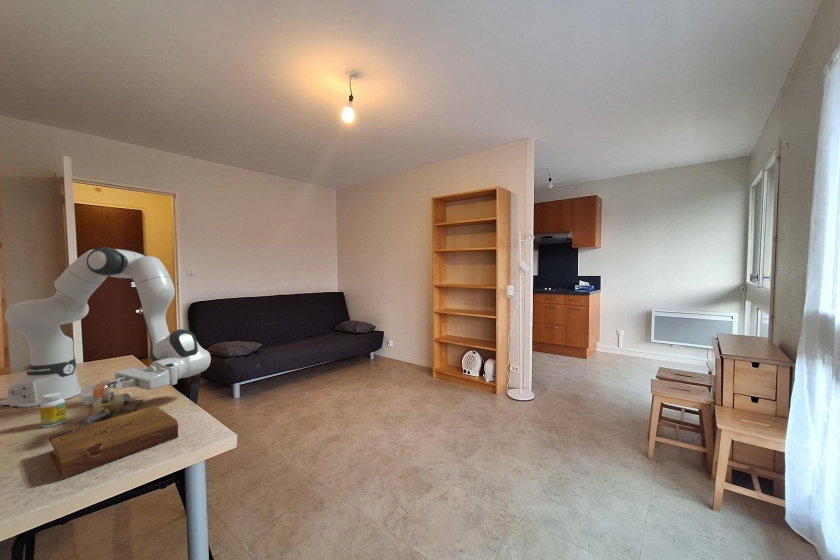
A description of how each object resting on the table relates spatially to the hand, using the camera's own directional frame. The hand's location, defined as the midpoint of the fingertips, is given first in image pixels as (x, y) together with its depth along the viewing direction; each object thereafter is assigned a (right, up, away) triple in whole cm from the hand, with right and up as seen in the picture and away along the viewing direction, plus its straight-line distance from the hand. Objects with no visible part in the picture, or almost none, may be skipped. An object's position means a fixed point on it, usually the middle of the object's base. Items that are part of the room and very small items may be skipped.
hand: (111, 386), depth 101 cm
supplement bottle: (-21, -13, +2) cm, 25 cm away
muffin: (-25, -13, +18) cm, 34 cm away
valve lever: (-3, -6, +1) cm, 7 cm away
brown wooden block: (+12, -14, -11) cm, 21 cm away
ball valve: (-7, -13, +7) cm, 16 cm away
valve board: (-7, -13, +7) cm, 16 cm away
